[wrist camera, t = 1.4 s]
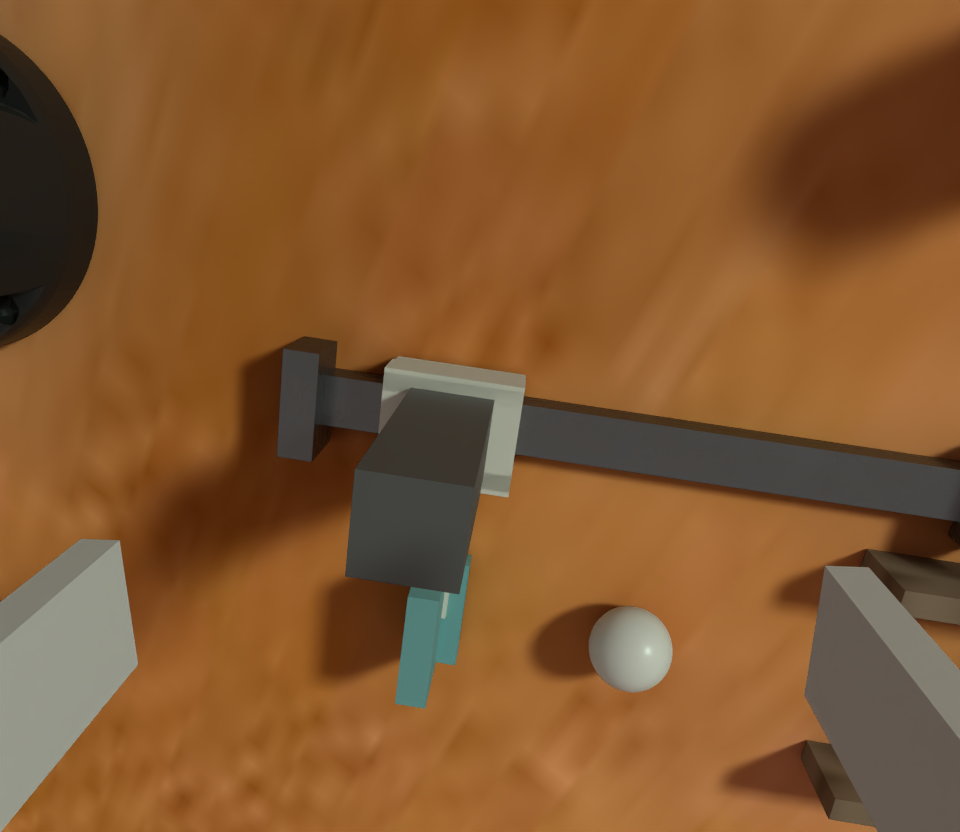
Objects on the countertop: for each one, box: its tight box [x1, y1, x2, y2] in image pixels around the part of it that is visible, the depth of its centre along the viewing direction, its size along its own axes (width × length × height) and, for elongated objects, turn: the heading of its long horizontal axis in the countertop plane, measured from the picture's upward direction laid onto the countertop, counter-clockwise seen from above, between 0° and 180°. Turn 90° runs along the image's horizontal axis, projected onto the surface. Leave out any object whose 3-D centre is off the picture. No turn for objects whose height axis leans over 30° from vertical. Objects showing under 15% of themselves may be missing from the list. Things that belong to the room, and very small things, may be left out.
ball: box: [589, 606, 673, 692], centre depth 36 cm, size 4×4×4 cm
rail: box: [277, 337, 960, 545], centre depth 34 cm, size 33×5×3 cm, turn 82°
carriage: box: [345, 356, 526, 708], centre depth 31 cm, size 6×15×13 cm, turn 172°
